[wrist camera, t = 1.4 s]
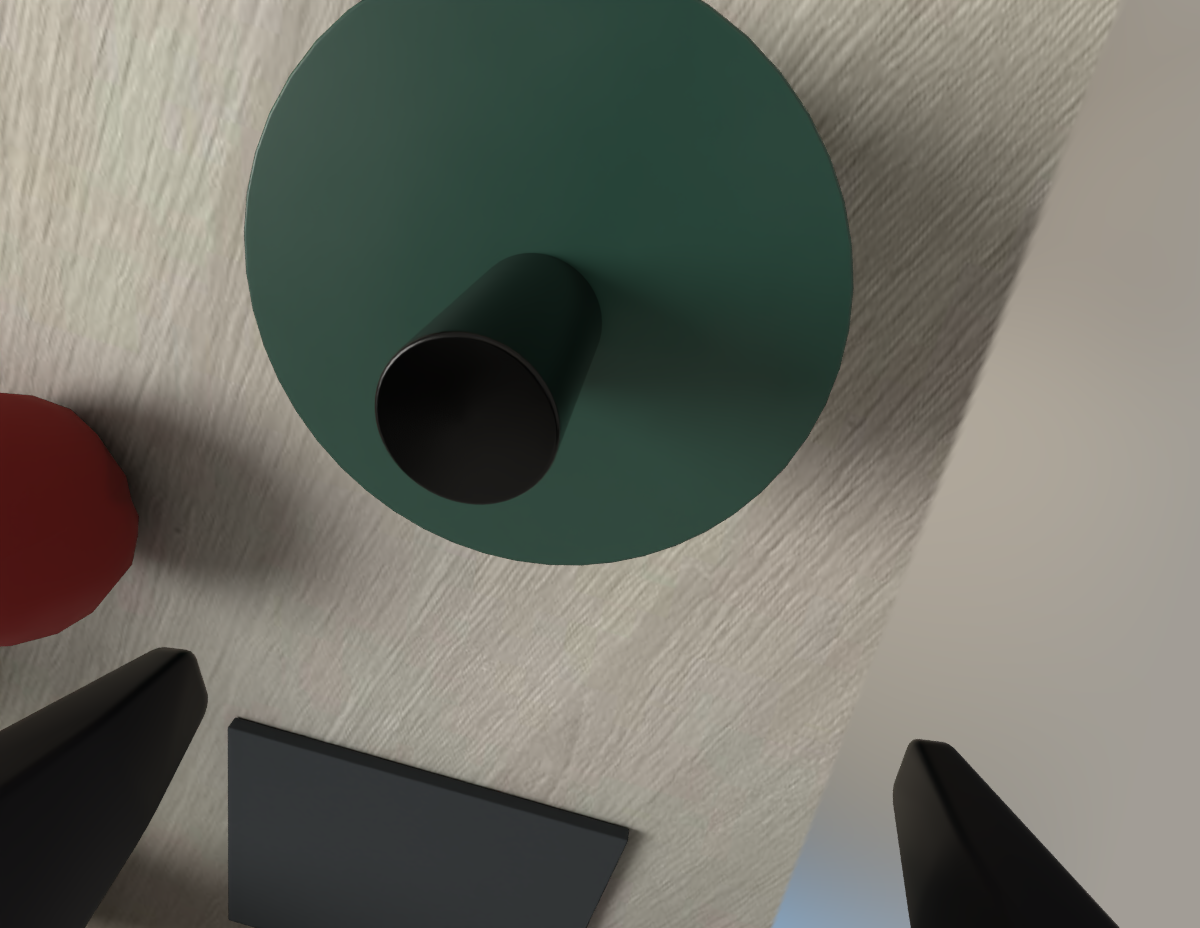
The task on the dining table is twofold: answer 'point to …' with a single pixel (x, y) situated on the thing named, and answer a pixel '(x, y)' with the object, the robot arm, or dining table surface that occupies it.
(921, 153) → the dining table surface
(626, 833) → the mat
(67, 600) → the tomato
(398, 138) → the tin lid
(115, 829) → the robot arm
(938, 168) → the dining table surface
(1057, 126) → the dining table surface
